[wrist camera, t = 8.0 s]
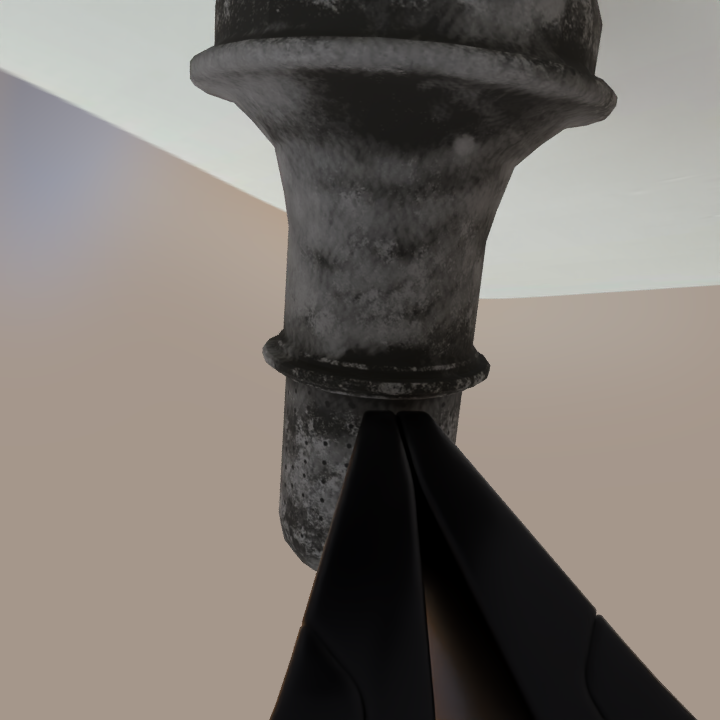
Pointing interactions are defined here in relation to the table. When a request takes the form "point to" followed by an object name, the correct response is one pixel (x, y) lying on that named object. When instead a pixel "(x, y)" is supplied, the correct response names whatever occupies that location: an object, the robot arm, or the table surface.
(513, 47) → the grey turned piece
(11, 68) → the table surface
